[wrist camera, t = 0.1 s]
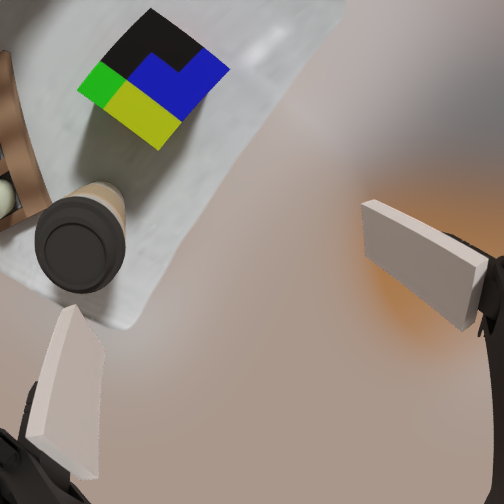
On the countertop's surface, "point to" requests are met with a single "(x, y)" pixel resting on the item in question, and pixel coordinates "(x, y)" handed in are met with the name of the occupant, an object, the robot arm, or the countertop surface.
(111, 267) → the coffee cup
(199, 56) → the puzzle toy
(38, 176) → the button board
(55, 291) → the countertop surface
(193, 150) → the countertop surface
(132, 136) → the countertop surface
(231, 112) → the countertop surface
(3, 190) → the button sage
